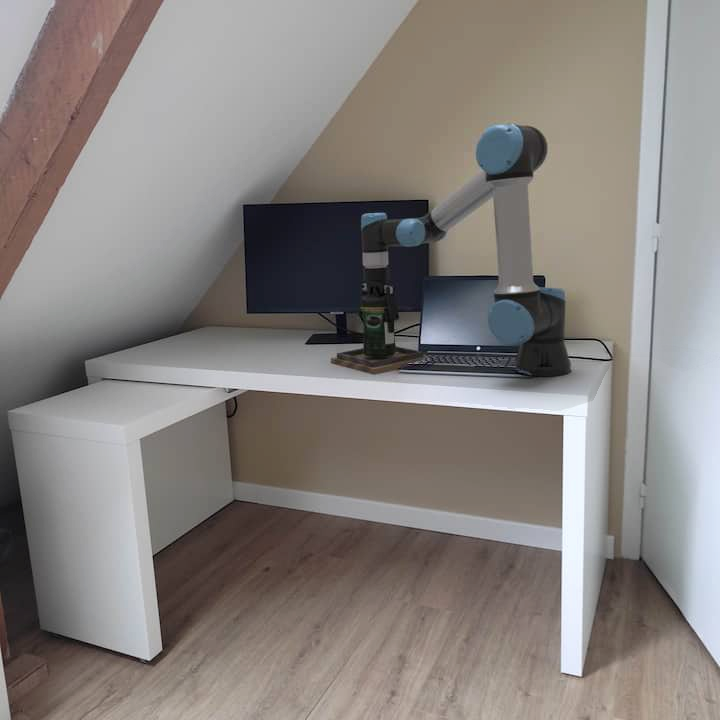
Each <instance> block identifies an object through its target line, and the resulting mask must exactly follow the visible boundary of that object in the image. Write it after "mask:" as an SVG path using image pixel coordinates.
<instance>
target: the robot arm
mask: <svg viewBox="0 0 720 720" xmlns="http://www.w3.org/2000/svg"><path fill="white" fill-rule="evenodd" d="M547 155H548V142H547V139H546V137H545V135H544V133H542V131H540V130H539V129H538V128H535V127H534V126H531V125H519V124H513V123H501V124H496V125H492V126H491V127H488V128H487V129H486V130H485V131H484V132H483V133H482V134H481V136H480V137H479V139H478V141H477V144H476V147H475V158H476V161H477V165H478V167H480V169H482V170H481V171H480V172H478V174H476V175H475V176H473V177H472V178H471V179H470V180H469V181H467V182H466V183H465V184H464V185H462V186H461V187H459V188H458V189H457V190H456V191H455V192H454V193H452V194H451V195H450V196H448V197H447V198H446V199H445V200H443V201H442V202H440V203H439V204H438V205H437V206H435V207H434V208H433V209H432V210H430V212H428V213H426V214H425V215H424V216H422V217H416V218H414V217H413V218H401V219H400V218H399V219H388V215H387V214H386V212H373V213H372V212H369V213H364V214H362V215H361V218H360V219H361V220H360V222H361V225H360V227H361V228H360V230H361V231H360V232H361V244H362V265H363V268H362V269H363V280H364V281H366V283H361V284H359V304H358V311H357V312H358V313H357V315H358V316H360V317H362V319H363V320H362V321H363V324H364V318H363V313H362V310H361V300H362V296H364V295H367V294H374V295H376V297H377V298H379V299H380V298H381V297H380V296H383V295H385V294H386V300H387V305H388V308H386V307H384V315H385V318H386V321H385V344H391V343H394V337H395V321H399V319H400V315H399V310H398V306H397V305H398V304H397V300H396V294H395V288H396V287H395V286H394V285H391V286H389V285H388V283H387V281H388V280H389V279H390V268H389V266H388V265H389V264H390V263H389V247H407V248H410V247H417V246H420V245H422V244H434V243H437V242H441V241H442V240H444V239H445V237H446V236H447V233H448V231H449V230H451V229H453V228H454V227H455V226H456V225H458V224H459V223H461V221H463V220H464V219H466V218H467V217H469V215H471V214H473V213H474V212H475V211H477V210H478V209H479V208H480V207H482V206H483V205H484V204H485V203H487V202H488V201H490V200H491V199H493V213H494V214H493V215H494V227H495V228H494V229H495V243H496V256H497V258H496V259H497V272H498V273H497V274H498V275H497V276H498V285H497V287H496V288H495V289H494V290H493V304H492V305H491V307H490V309H489V310H488V312H487V318H486V319H487V325H488V329H489V330H490V332H491V334H492V335H493V336H494V337H495V338H496V339H498V340H499V341H500V342H502V343H504V344H507V345H517V344H519V347H518V350H517V354H516V358H515V360H514V365H513V367H514V366H515V367H516V368H518V369H520V370H523V371H527V372H529V373H531V374H532V376H531V377H558V376H562V375H567V374H569V373H571V371H572V363H571V360H570V358H569V354H568V349H567V347H566V344H565V339H566V338H565V333H566V332H565V330H566V329H565V328H566V303H567V300H566V294H565V290H564V289H563V288H560V287H559V288H558V287H557V288H556V287H540V286H538V285H537V284H536V283H535V282H534V275H533V274H534V271H533V255H532V254H533V253H532V238H531V237H532V236H531V220H530V219H531V218H530V204H529V203H530V202H529V187H528V186H529V185H530V183H531V182H532V181H533V180H534V173H535V172H536V171H537V170H538V169H539V168H540V167H541V166H542V165H543V164H544V162H545V160H546V159H547ZM389 316H390V318H389Z"/></svg>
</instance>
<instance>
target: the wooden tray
mask: <svg viewBox="0 0 720 720" xmlns="http://www.w3.org/2000/svg"><path fill="white" fill-rule="evenodd" d="M428 358H430V359H431V357H430V356H427V355H424V351H421V350H415V349H410V348H406V347H400V346H396V352H395V354H394V355H392V356H391V355H389V356H384V357H372V356H366V355H364V353H363V347H362V348H357V349H352V350H347V351H341V352H336V356H333V357H330V363H331V364H334V365H337V366H342V367H344V368H349V369H354V370H357V371H361V372H364V373H369V374H372V375H378V374H382V373H386V372H387V373H388V372H391V371H397V370H399V369H398V368H399V367H401V366H402V365H405V364H407V363H412V362H416V361H420V360H423V359H428Z"/></svg>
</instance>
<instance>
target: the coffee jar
mask: <svg viewBox="0 0 720 720" xmlns="http://www.w3.org/2000/svg"><path fill="white" fill-rule="evenodd" d="M380 297H381V298H380V299H379V298H377V297H376V295H374V294H367V295H364V296H362V300H361V310H362V313H363V318H364V323H363V343H362V348H363V353H364V355H366V356H372V357H384V356H389V355H391V356H392V355H394V354H395V352H396V337H395V336H394V343H391V344H385V321H386V318H385V315H384V307H386V308H388V305H387V300H386V294H385V295H383V296H380ZM363 318H362V319H363ZM389 318H390V316H389Z"/></svg>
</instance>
